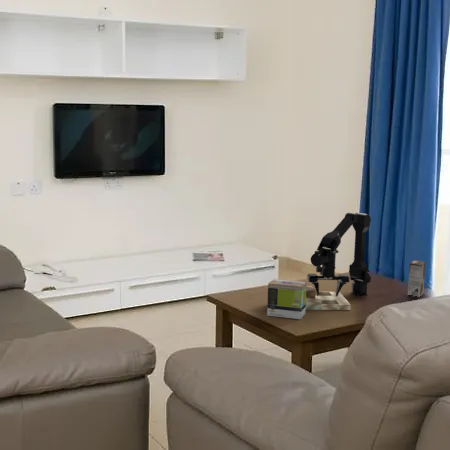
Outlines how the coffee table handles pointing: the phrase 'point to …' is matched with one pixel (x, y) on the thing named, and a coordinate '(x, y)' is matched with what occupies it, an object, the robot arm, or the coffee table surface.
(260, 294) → the coffee table surface
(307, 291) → the walnut block
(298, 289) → the tea box
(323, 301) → the board
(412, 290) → the coffee box
